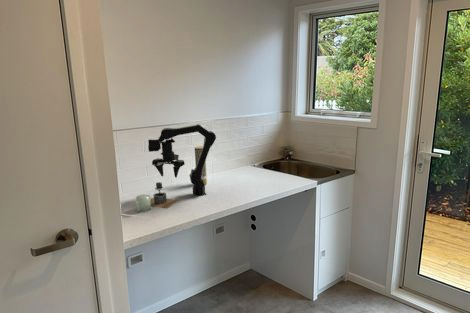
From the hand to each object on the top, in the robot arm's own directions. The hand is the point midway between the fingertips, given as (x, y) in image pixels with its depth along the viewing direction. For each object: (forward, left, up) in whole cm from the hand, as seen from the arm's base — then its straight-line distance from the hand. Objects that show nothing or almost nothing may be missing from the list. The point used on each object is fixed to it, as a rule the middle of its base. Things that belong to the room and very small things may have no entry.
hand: (169, 176), depth 208 cm
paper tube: (-4, -31, -13) cm, 34 cm away
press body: (0, +11, -12) cm, 16 cm away
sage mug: (+2, +23, -13) cm, 26 cm away
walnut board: (0, +11, -13) cm, 17 cm away
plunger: (0, +11, -8) cm, 13 cm away
